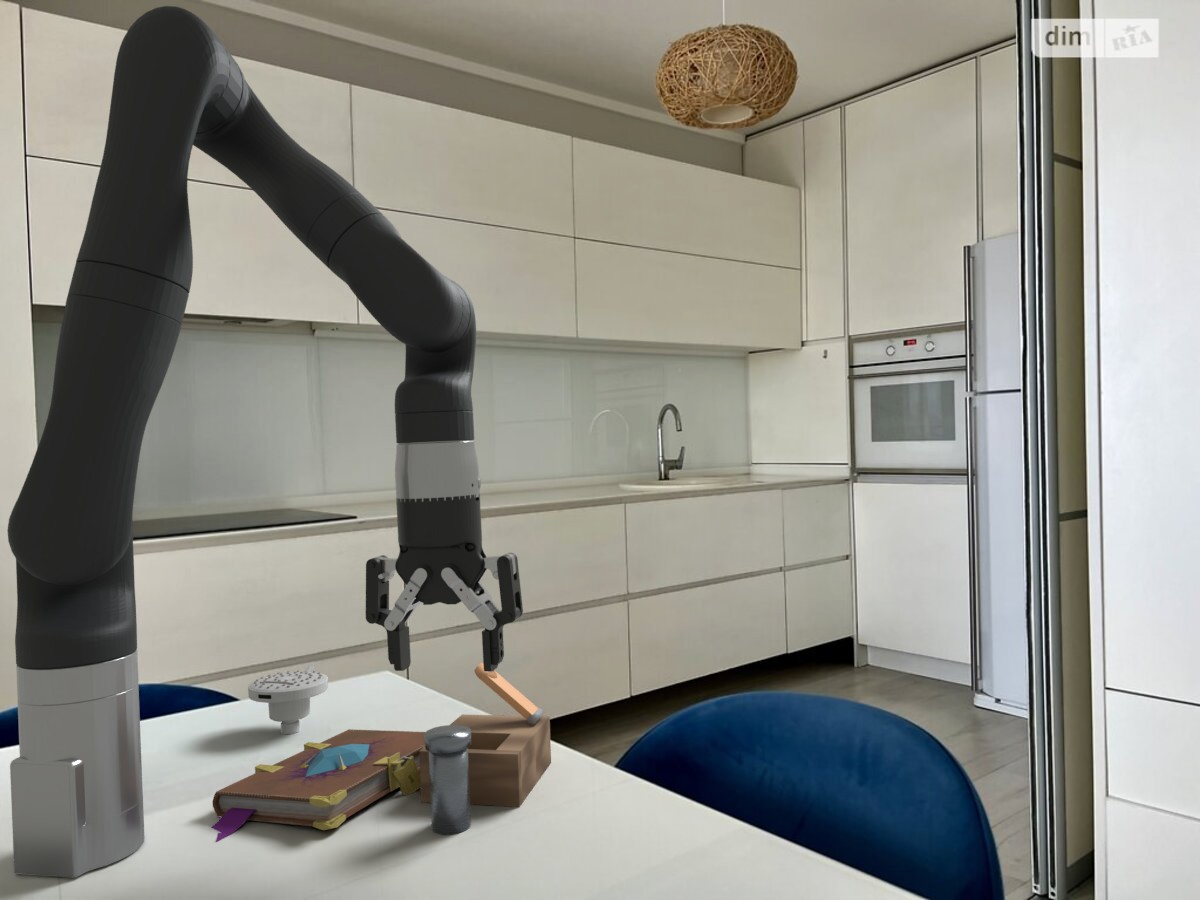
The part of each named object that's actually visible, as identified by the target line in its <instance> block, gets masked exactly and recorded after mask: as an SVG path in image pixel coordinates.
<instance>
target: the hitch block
mask: <svg viewBox="0 0 1200 900" xmlns="http://www.w3.org/2000/svg"><path fill="white" fill-rule="evenodd" d="M550 718H551V717H550V716H548V715H547V716H546V715H545V716H543V715H542V717H541V718H540V719H539V720H538V721H537V722H536V724H534V725H530V724H529V723H528V721H527V719H525V718H524V717H523V716H522V715H499V714H496V715H494V714H493V715H492V714H461V715H459V716H458V717H457V718H455V719H454V720H453V721H452V722H451V723H450V724H449V725H462V726H466V727H469V728H470V729H471V742H472V744H471V746H470V747H468V765H469V792H470V806H472V805H476V806H496V807H497V806H498V807H500V806H501V807H521V805H522V804H523V803H524V801H525V800H526V799H527V797H528V796H529V794H530V793H531V792H532V790H533V789H534V788H535V786H536V785H537V784H538V782H539V780H541V778H542V777H543V775H544V774H545V772H546V771H547V769H548V767H549V766H550V765H551V764H552V749H551V722H550ZM419 758H420V784H421V787H420V802H421V803H429V804H431V795H430V768H429V751H427V750H426V749H425V747H423V748H422V749H421V750H420V751H419Z"/></svg>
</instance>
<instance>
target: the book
mask: <svg viewBox="0 0 1200 900" xmlns="http://www.w3.org/2000/svg"><path fill="white" fill-rule="evenodd" d="M425 732H426V731H410V730H409V731H406V730H405V731H404V730H378V729H354V728H353V729H346V730H345V731H343V732H341V733H339V734H336V735H334V736H331V737H330V738H327V739H325V740H324V741H322V742H313V741H312V742H311V741H307V742H305V743H303V750H302V751H299V752H298V753H296V754H293V755H291V756H289V757H287V758H285V759H283V760H280V761H279V762H276V763H274V764H272V765H270V764H262V763H261V764H258V765H256V766H254V773H252V774H251V775H248V776H247V777H244V778H243V779H240V780H238V781H236V782H234V783H231V784H229V785H227V786H225V787H223V788H221V789H219V790H216V792H215V793H214V795H213V797H212V808H213V810H214V812H215V814H216V816H217V817H219V816H221V817H219V819H218V820H217V822H215V824H213V825H212V826H211V827H210V828H211V829H213V830H216V831H217V832H218V833H217V836H216V840H215V842H216V843H217V842H219V841H221V840H224V839H225V838H227V837H229V836H230V835H232V834H233V833H234V832H236V831H237V830H238V829H239V828H241V827H242V826H243V825H244V823H246V821H252V822H262V823H263V822H264V823H274V824H285V825H294V826H306V827H313V828H316V829H318V830H322V831H326V830H327V831H328V830H331V829H335V828H338V827H340V826H341V824H343V823H344V822H345V821H346V820H347V818H349V817H352V815H354V814H355V813H357V812H359V811H361V810H362V809H364V808H366V807H367V806H369V805H371V804H372V803H374V802H375V801H377V800H379V799H380V798H382V797H384V796H386V795H388V794H389V793H391V792H393V791H395V790H396V789H398V788H399V789H400V791H401V794H402V795H403V796H407V795H410V794H413V793H415V792H417V790H419V789H421V784H420V758H419V751H420V750H421V749H422V748H423V747H425V740H424V734H425Z"/></svg>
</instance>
